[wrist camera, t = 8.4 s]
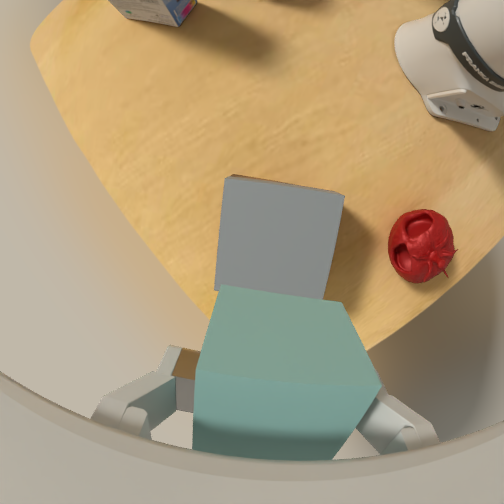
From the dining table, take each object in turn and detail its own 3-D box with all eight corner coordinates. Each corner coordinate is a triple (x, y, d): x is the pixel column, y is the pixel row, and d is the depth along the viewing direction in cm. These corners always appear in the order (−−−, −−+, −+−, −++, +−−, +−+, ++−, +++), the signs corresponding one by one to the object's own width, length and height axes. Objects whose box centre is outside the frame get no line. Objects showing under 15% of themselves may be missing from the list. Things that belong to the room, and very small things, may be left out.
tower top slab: (334, 191, 31) (344, 195, 27) (315, 287, 34) (321, 302, 31) (229, 176, 30) (225, 178, 27) (218, 276, 34) (214, 290, 30)
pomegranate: (445, 223, 35) (483, 240, 26) (416, 280, 38) (447, 309, 29) (400, 192, 34) (437, 203, 25) (368, 256, 37) (396, 284, 28)
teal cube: (341, 302, 11) (382, 385, 6) (309, 386, 13) (324, 469, 8) (221, 284, 11) (195, 368, 6) (210, 374, 13) (192, 459, 8)
